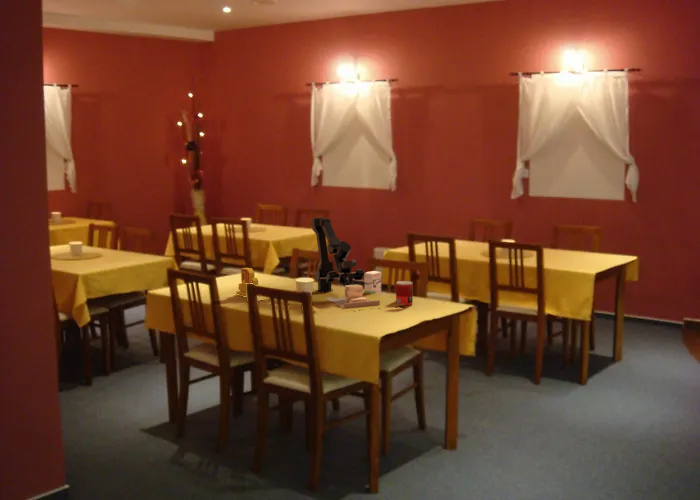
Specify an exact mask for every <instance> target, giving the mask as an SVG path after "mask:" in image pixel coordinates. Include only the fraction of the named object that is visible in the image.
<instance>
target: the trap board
mask: <svg viewBox="0 0 700 500" xmlns="http://www.w3.org/2000/svg"><path fill="white" fill-rule="evenodd" d="M324 299H325V300H327V301H329V302H331V303H333V304H335V305H337V306H339V305H344V303H346V302H345V295H344V296H343V295H342V296H340V298H337V296H333V297H325V298H324ZM367 301H371V300H370V299H368V298H367Z"/></svg>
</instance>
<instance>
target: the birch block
mask: <svg viewBox="0 0 700 500" xmlns="http://www.w3.org/2000/svg"><path fill="white" fill-rule="evenodd" d="M363 287H364V285H360V284H351V285H346V286H344V296H345V297H344V298H345V302H346V303H354V302H365V301H368V300H367V299H368V298H366V297H365V296H364V295H363V293H364V292H363V289H364V288H363Z"/></svg>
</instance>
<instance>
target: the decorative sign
mask: <svg viewBox="0 0 700 500" xmlns="http://www.w3.org/2000/svg"><path fill="white" fill-rule="evenodd" d="M240 275H241V276H240V279H241V281H240V282H241V283H238V286H237V287H238V290H237V291H236V292H235V293H236V295H237V294H239V295H243V296H246V283H253V284H255V285H258V286H259V280H258V277H255V271H254V269H253V268H251V267H242V268H240ZM259 297H260V296H259Z"/></svg>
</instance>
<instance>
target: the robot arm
mask: <svg viewBox="0 0 700 500" xmlns="http://www.w3.org/2000/svg"><path fill="white" fill-rule="evenodd" d="M310 226H311V228H312V229H311V230H312V231H313V232H314V233H315V235H316V242H317V244H316V245H317V250H318V256H319V258H318V259H319V263H318V264H317V267H316V268H317V270H316V272H315V275H314V277H315V278H314V279H315V280H316V281H317V289H316V290H315V291H316V292H320V293H328V292H333V288H332V283H333V282H334V281H335V279H337V280H338V281H337V283H338V284H341V285H342V286H343V287H345V286H346V285H352V282H353V279H354V280H355V281H359V280H360V281H361V280H362V279H363V277H364V274H365V273H366V272H365V270H364V269H362V268H358V269H355V270H354V271H353V272H352V269H353V268H355V267H357V261H356V259H351V260H347V258H348V256H349V254H350V253H351V249H352V246H351V245H350V244H349V243H348V242H346V240H341V239H339V238H338V236H337V235H336V233H335V230H334V227H333V226H332V221H331V219H330V218H326V217H325V216H321V217H320V216H318V217H316V216H315V217H312V219H311V220H310ZM329 254H330V255H333V257H332V261H331V260H330V258H329ZM334 264H335V268H334Z"/></svg>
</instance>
